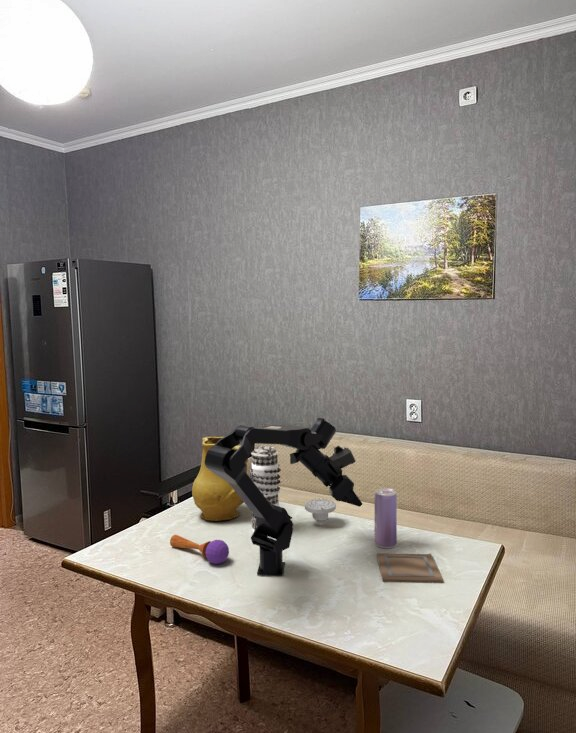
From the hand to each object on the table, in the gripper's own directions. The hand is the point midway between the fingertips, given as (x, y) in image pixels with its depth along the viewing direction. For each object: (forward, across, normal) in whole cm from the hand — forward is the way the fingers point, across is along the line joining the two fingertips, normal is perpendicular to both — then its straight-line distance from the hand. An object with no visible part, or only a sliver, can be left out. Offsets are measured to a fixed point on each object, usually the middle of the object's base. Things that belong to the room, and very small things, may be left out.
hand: (356, 499), depth 145 cm
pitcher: (-16, +30, +35) cm, 49 cm away
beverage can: (+15, 0, +4) cm, 16 cm away
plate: (+16, -15, +3) cm, 22 cm away
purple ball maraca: (-20, +3, +40) cm, 45 cm away
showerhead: (+5, +17, +14) cm, 23 cm away
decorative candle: (-7, +16, +26) cm, 31 cm away
